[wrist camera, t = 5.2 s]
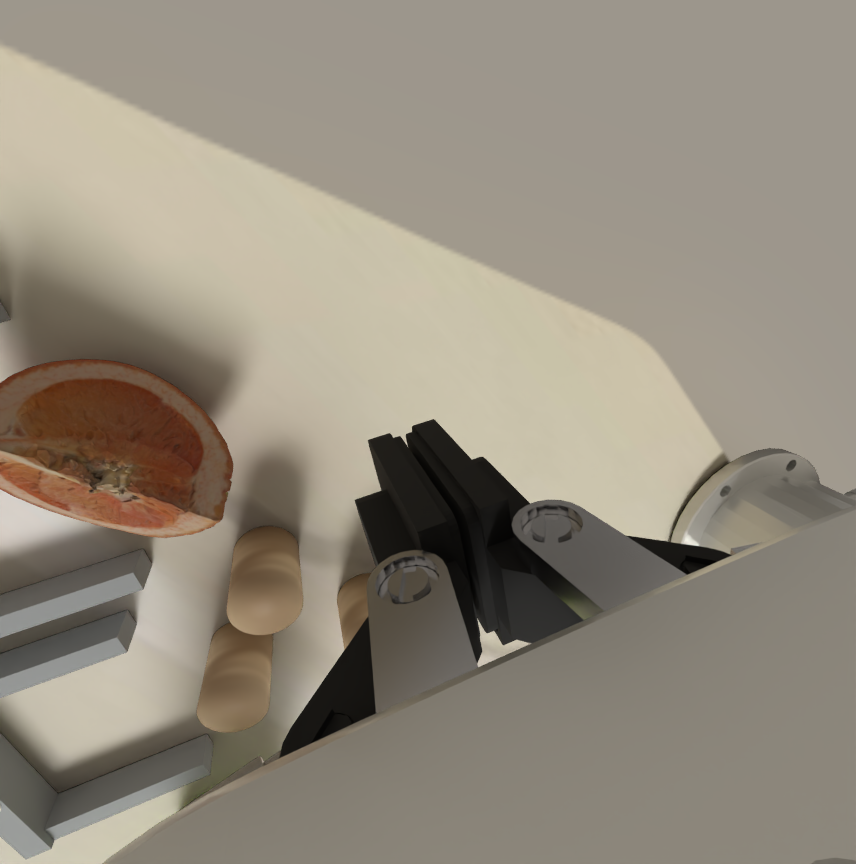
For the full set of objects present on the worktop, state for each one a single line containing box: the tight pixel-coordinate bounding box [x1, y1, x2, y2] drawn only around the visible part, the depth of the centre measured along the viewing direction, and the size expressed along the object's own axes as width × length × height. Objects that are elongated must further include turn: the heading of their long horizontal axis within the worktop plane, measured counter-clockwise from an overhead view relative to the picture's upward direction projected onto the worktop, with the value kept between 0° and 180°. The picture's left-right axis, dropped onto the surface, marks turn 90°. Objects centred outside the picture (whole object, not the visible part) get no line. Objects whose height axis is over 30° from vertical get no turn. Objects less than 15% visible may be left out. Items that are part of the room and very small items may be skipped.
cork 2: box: [197, 622, 273, 732], centre depth 24 cm, size 3×3×4 cm
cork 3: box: [337, 573, 371, 649], centre depth 25 cm, size 3×3×4 cm
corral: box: [0, 610, 213, 859], centre depth 24 cm, size 9×11×2 cm
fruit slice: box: [0, 359, 233, 538], centre depth 18 cm, size 8×7×5 cm
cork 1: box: [227, 526, 303, 635], centre depth 23 cm, size 3×3×4 cm
